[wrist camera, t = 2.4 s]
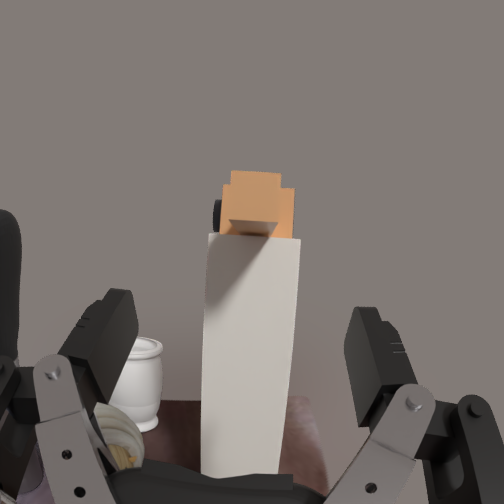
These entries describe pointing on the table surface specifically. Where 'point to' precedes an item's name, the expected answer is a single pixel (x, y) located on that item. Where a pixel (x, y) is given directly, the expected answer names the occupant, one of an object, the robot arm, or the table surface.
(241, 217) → the tan piece
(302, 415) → the table surface
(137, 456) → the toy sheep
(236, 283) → the pedestal
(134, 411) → the jar
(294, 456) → the table surface
